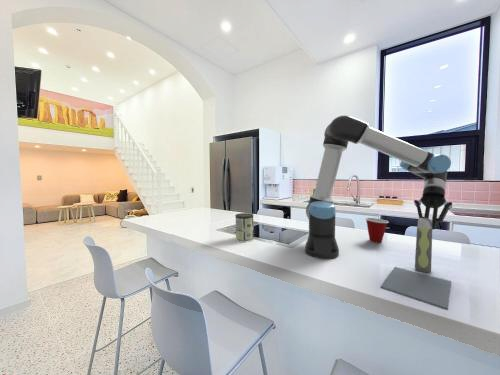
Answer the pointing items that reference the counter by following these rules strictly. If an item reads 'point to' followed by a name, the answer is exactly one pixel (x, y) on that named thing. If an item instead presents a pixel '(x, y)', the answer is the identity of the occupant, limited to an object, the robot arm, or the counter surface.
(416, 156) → the robot arm
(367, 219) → the plastic cup
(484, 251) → the counter surface
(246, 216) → the coffee can
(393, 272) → the slate mat
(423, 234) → the patterned grey cylinder
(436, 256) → the counter surface
